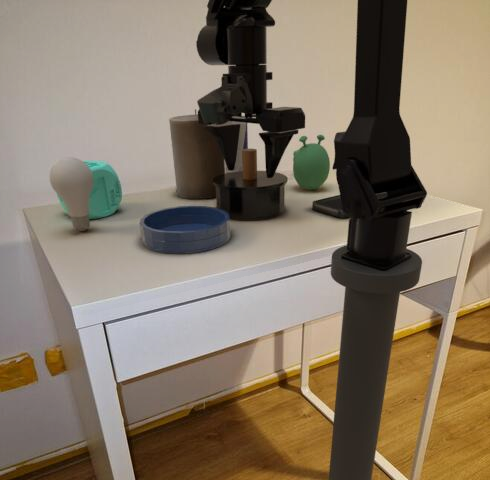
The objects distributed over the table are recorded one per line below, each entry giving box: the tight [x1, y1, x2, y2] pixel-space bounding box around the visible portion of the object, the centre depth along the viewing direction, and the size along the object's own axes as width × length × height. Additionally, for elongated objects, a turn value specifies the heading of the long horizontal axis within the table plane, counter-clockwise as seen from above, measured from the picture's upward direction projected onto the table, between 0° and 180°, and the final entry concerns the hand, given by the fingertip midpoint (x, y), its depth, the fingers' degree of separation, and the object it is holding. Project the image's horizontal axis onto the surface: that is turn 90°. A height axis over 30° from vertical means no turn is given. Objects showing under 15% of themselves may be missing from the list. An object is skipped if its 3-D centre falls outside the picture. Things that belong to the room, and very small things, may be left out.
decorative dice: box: [56, 160, 123, 220], centre depth 79 cm, size 8×8×8 cm
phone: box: [311, 192, 387, 219], centre depth 80 cm, size 8×1×15 cm
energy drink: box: [224, 121, 249, 173], centre depth 98 cm, size 5×5×12 cm
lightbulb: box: [49, 156, 94, 232], centre depth 70 cm, size 6×6×11 cm
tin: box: [215, 184, 286, 222], centre depth 79 cm, size 11×11×5 cm
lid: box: [213, 148, 288, 191], centre depth 76 cm, size 12×12×6 cm
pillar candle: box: [168, 108, 225, 200], centre depth 87 cm, size 10×10×15 cm
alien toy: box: [292, 134, 331, 191], centre depth 89 cm, size 7×8×10 cm
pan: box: [139, 205, 232, 255], centre depth 68 cm, size 13×13×3 cm
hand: (249, 173), depth 77 cm, fingers open, 9 cm apart
